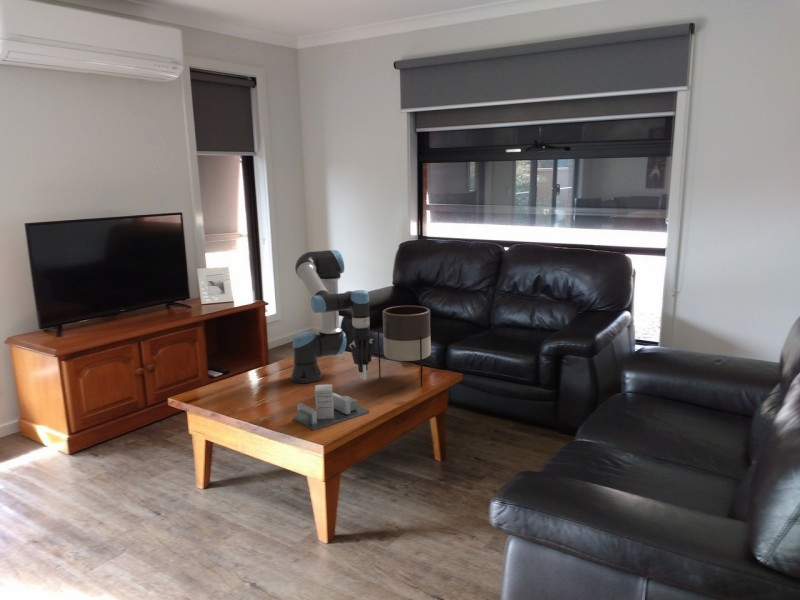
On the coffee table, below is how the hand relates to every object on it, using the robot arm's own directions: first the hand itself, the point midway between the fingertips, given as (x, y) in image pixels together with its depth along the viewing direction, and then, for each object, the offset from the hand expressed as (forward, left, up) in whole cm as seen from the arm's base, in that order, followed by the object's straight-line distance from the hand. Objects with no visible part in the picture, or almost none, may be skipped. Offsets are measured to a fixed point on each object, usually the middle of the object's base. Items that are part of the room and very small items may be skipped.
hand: (363, 378), depth 264 cm
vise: (0, -17, -13) cm, 21 cm away
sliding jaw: (0, -10, -11) cm, 15 cm away
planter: (-14, +39, -13) cm, 44 cm away
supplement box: (0, -20, -12) cm, 24 cm away
